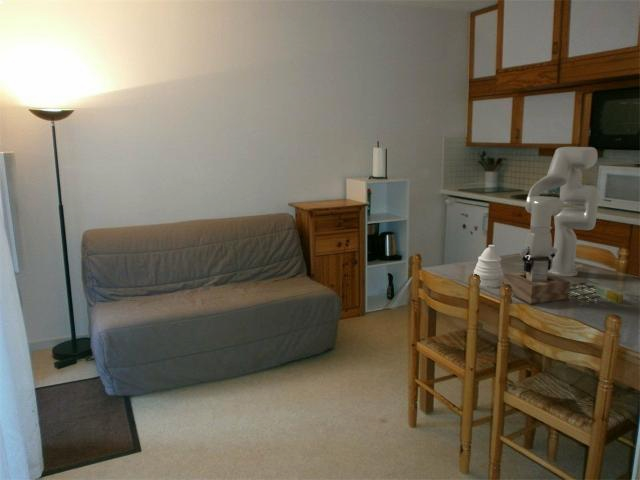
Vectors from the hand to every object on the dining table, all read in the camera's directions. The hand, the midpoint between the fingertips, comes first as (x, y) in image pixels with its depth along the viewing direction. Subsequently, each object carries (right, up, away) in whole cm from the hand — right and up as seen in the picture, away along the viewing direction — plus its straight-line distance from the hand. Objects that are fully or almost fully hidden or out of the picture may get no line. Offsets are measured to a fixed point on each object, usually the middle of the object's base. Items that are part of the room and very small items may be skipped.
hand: (537, 270), depth 213 cm
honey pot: (-14, -7, +21) cm, 26 cm away
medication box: (+28, -12, -2) cm, 31 cm away
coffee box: (0, -10, +2) cm, 10 cm away
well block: (0, -11, +2) cm, 11 cm away
